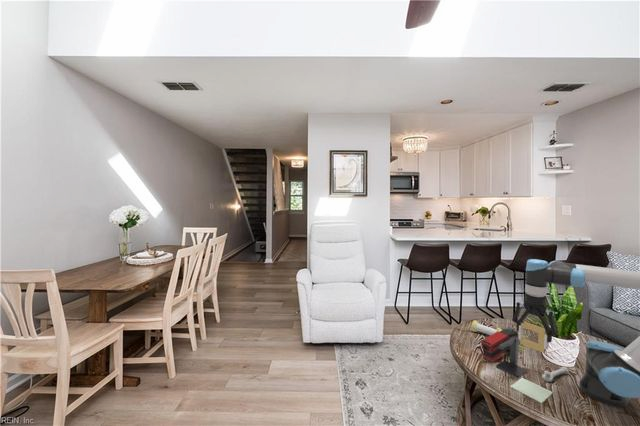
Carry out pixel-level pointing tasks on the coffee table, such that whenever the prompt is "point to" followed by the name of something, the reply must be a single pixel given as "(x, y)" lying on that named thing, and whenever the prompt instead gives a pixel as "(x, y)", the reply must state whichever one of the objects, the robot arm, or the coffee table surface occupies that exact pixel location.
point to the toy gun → (494, 340)
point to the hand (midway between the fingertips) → (533, 343)
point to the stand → (511, 359)
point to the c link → (540, 338)
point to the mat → (531, 390)
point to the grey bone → (554, 374)
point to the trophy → (491, 331)
